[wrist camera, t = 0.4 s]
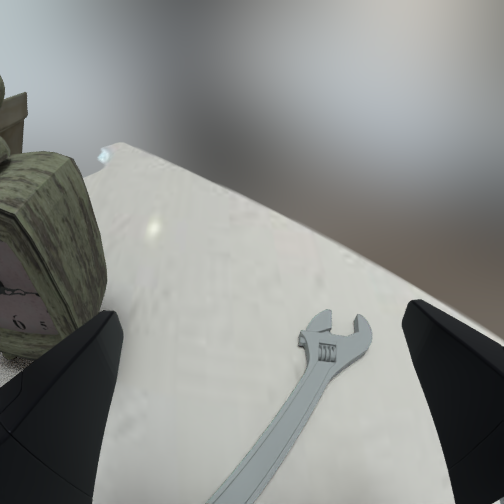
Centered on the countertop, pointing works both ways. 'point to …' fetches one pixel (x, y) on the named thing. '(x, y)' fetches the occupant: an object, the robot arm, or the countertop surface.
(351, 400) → the countertop surface
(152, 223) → the countertop surface
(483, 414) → the robot arm
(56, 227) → the tabletop clock
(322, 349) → the adjustable wrench
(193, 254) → the countertop surface
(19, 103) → the plant pot
